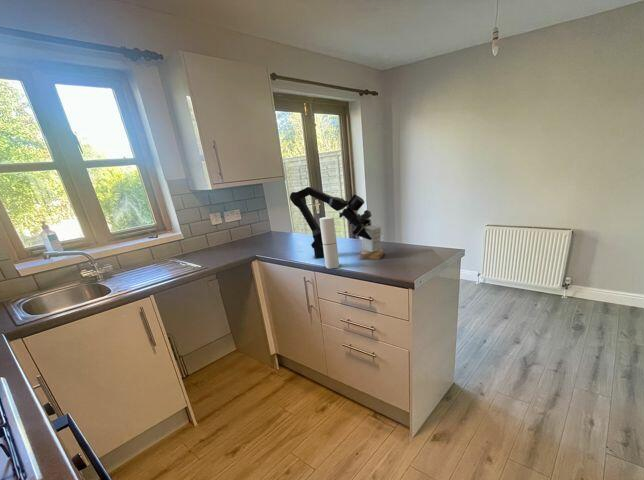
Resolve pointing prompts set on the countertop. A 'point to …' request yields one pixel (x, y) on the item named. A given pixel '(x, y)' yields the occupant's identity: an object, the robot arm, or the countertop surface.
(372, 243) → the white packaging box
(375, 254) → the tan flat block
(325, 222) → the cylindrical container
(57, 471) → the countertop surface
